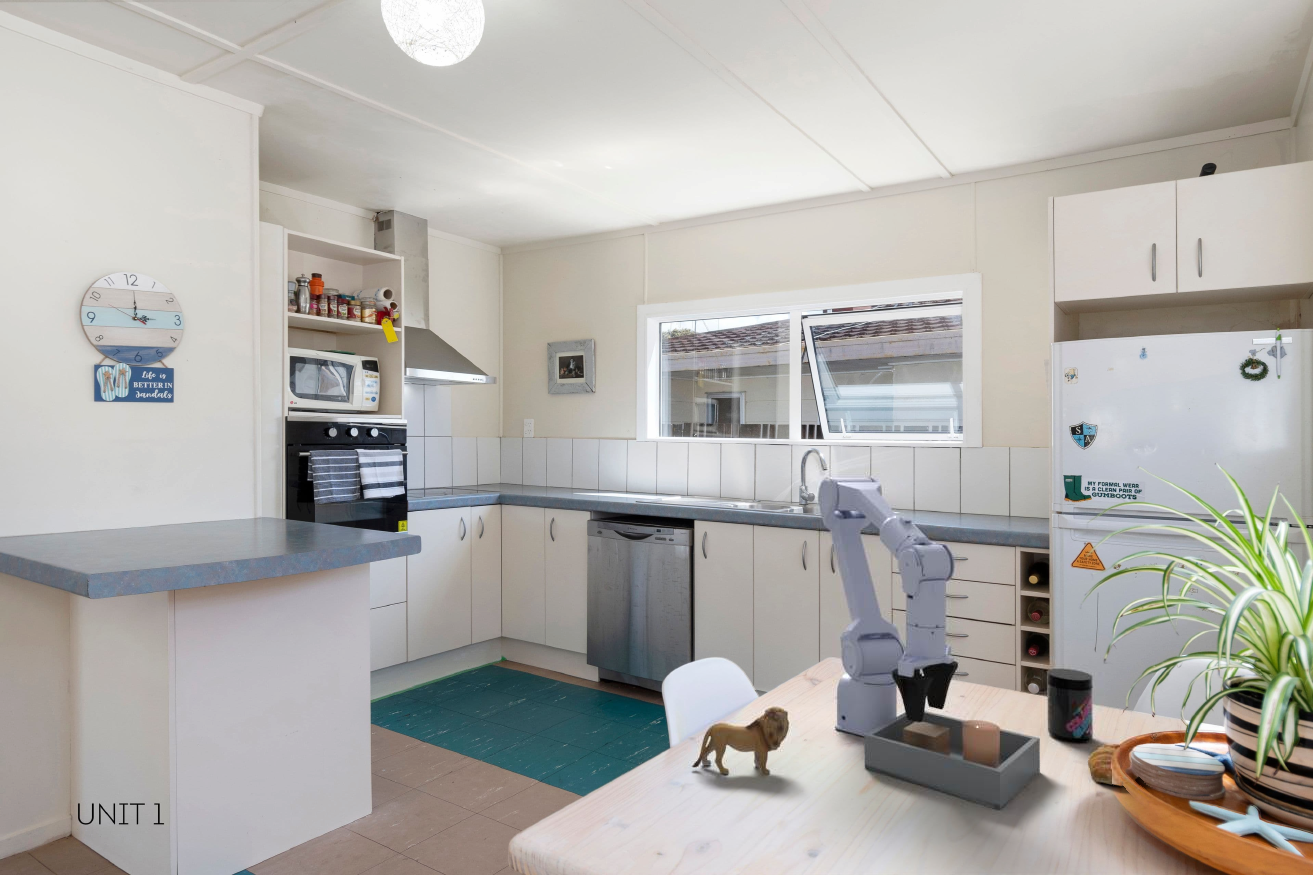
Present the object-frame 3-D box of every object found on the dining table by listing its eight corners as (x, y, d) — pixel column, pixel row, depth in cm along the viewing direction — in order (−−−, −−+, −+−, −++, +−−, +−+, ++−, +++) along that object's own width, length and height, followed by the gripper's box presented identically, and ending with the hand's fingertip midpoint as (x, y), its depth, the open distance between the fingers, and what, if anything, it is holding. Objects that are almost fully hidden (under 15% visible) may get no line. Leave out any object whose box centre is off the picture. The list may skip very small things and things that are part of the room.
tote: (864, 768, 115) (864, 734, 116) (912, 738, 128) (912, 707, 128) (1000, 809, 102) (1000, 771, 102) (1039, 771, 114) (1039, 738, 114)
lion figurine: (784, 759, 119) (783, 701, 119) (793, 774, 113) (793, 712, 114) (689, 763, 117) (689, 704, 117) (695, 778, 112) (695, 716, 112)
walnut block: (903, 761, 116) (903, 728, 116) (917, 752, 120) (917, 720, 120) (935, 771, 113) (935, 737, 113) (949, 761, 117) (949, 728, 117)
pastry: (1134, 795, 107) (1134, 767, 107) (1080, 782, 111) (1079, 755, 112) (1144, 773, 114) (1144, 747, 114) (1093, 762, 119) (1092, 736, 119)
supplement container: (1058, 743, 125) (1058, 679, 126) (1040, 729, 132) (1039, 668, 132) (1101, 745, 125) (1100, 680, 125) (1080, 730, 132) (1080, 668, 132)
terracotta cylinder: (958, 775, 111) (958, 727, 112) (967, 764, 115) (967, 717, 116) (995, 784, 108) (995, 734, 109) (1003, 772, 112) (1003, 724, 113)
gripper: (931, 636, 109) (931, 733, 109) (970, 620, 119) (970, 708, 119) (884, 628, 114) (884, 721, 113) (926, 613, 124) (926, 697, 124)
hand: (925, 713), depth 117 cm, fingers open, 7 cm apart
